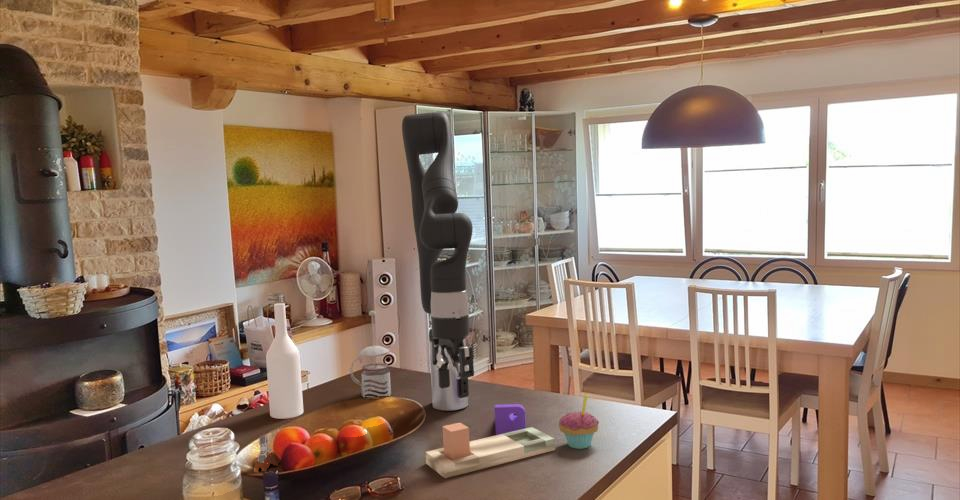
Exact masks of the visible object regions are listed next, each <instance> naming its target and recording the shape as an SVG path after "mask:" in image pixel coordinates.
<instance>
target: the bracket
mask: <svg viewBox="0 0 960 500" xmlns="http://www.w3.org/2000/svg"><path fill="white" fill-rule="evenodd" d="M526 417H527V416H526V409H525V407H524V406H523V405H522V404H519V403H515V404H514V403H509V404H507V403H506V404H494V420H495V421H494V425H495V435H500V434H504V433H508V432H512V431H517V430H521V429H525V428H527V419H526Z"/></svg>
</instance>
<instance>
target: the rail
mask: <svg viewBox="0 0 960 500" xmlns="http://www.w3.org/2000/svg"><path fill="white" fill-rule="evenodd" d="M555 440H556V439H555V438H554V437H553V436H550V435H548V434H546V433H544V432H543V431H541V430H540V429H536V428H534V427H533V426H529V427H526V428H525V429H521V430H517V431H512V432H508V433H504V434H500V435H496V434H495V435H492V436H487V437H483V438H479V439H474V440H469V441H470V456H467V457H463V458H459V459H455V460H450V459H448V458H447V457H445V456H444V447H440V448H436V449H432V450H427V451H425V464H426V465H428V467H430V468H431V469H432V470H433V471H435V472H436V473H438V474H439V475H440V476H441V477H442V478H444V479H448V478H451V477H455V476H459V475H463V474H468V473H471V472H475V471H479V470H483V469H487V468H491V467H494V466H499V465H502V464H507V463H509V462H510V463H511V462H514V461H517V460H522V459H525V458H528V457H529V458H530V457H533V456H537V455H541V454H545V453H548V452H552V451H555V450H556V441H555Z"/></svg>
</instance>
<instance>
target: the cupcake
mask: <svg viewBox="0 0 960 500" xmlns="http://www.w3.org/2000/svg"><path fill="white" fill-rule="evenodd" d="M587 400H588V391H586V392H585V394H584V395H583V402H582V410H580V411H574V412H568V413H566V414H565V415H563V416H561V418H559V421H558V427H559V431H560V432H562V433H563V435H564V436H565V439H566V441H567V444H568V446H569V447H570V448H572V449H578V450H579V449H580V450H581V449H588V448H589V447H590V446H591V445H592V441H593V437H594V434H595V433H597V432H598V430H599V423H600V422H599V420H598V419H597V418H596V417H595V416H594V415H592V414H591V413H589V412H586V409H587V408H586V407H587Z"/></svg>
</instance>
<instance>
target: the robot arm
mask: <svg viewBox="0 0 960 500" xmlns="http://www.w3.org/2000/svg"><path fill="white" fill-rule="evenodd" d="M401 134H402V140H403V142H402V143H403V148H404V153H405V160H406V165H407V170H408V177H409V182H410V183H409V184H410V194H411V204H412V205H411V206H412V208H411V209H412V219H413V226H414V233H415V238H416V239H415V240H416V247H417V254H418V266H419V268H418V269H419V286H420V300H421V305H422V309H423V311H424V312H425V313H426V314H429V315H430V316H431V328H430V329H429V330H428V331H429V332H428V340H429V341H428V342H429V360H430V361H429V362H430V363H429V365H430V377H431V378H430V379H431V380H430V382H431V399H432V400H431V401H432V407H433V408H434V409H435V410H437V411H457V410H461V409H462V410H463V409H464V408H467V407H468V406H469V378H471V377H474V376H475V369H474V355H473V354H474V353H473V346H472V345H468V346H467V345H466V338H467V337H468V336H469V335H470V316H469V315H470V313H469V298H468V294H467V279H466V276H467V273H466V268H467V267H466V265H467V258H468V253H469V248H470V245H471V241H472V237H473V230H474V229H473V224H472V223H473V222H472V220H471V219H470V217H469V216H468V215H467V214H466V213H463V212H457V210H458V208H459V200H458V195H457V189H456V184H455V179H454V146H453V145H454V144H453V133H452V126H451V122H450V119H449V117H448V115H447V114H446V113H445V112H442V111H441V112H439V111H436V112H435V111H434V112H424V113H413V114H412V113H411V114H408V115H404V117H403V118H402V121H401ZM430 154H437V155H436V156H435V158H434V160H433V161H432V162H431V163H430V165H429V166H428V168H427V170H426V168H425V167H424V165H423V162H422V161H421V159H420V156H421V155H430ZM447 249H451V250H452V249H454V252H453V253H452V255H451V256H450V257H448V258H445V259H443V260H439V261H438V259H439V257H440V255H441V254H442V252H443V251H444V250H447Z"/></svg>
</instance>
